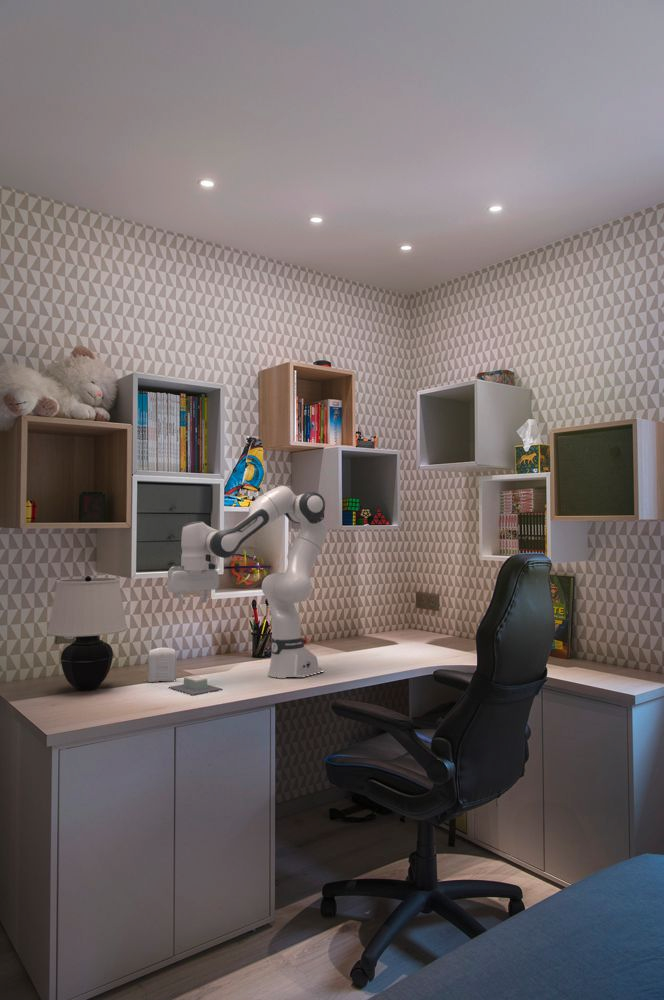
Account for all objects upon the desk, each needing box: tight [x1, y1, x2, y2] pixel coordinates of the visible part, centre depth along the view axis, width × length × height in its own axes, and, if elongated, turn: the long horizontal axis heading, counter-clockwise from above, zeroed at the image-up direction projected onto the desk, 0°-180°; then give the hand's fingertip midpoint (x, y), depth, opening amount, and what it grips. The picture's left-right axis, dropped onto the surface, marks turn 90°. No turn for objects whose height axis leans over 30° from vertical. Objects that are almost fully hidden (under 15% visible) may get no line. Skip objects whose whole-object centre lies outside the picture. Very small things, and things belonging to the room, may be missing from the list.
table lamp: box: [46, 575, 128, 692], centre depth 249 cm, size 27×27×40 cm
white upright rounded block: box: [147, 647, 177, 683], centre depth 262 cm, size 10×4×12 cm, turn 104°
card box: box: [183, 674, 208, 691], centre depth 248 cm, size 8×4×4 cm, turn 43°
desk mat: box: [167, 683, 223, 696], centre depth 248 cm, size 12×16×1 cm
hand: (193, 603), depth 258 cm, fingers open, 8 cm apart
